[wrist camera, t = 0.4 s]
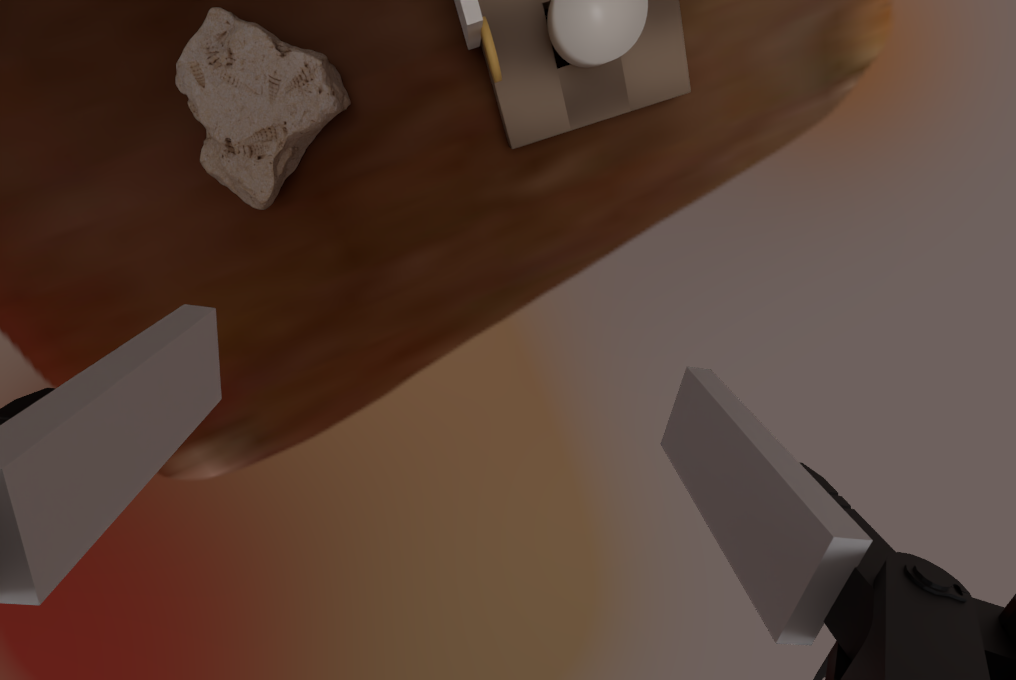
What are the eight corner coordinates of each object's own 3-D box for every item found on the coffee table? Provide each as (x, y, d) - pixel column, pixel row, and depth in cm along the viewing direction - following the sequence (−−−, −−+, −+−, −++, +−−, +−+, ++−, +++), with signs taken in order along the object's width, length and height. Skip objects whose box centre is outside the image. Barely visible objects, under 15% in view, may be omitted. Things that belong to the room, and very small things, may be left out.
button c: (531, -4, 31) (544, -30, 25) (609, -30, 30) (638, -62, 25) (551, 82, 33) (567, 75, 27) (624, 58, 32) (654, 46, 27)
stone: (369, 94, 34) (353, 90, 30) (270, 217, 37) (242, 231, 33) (254, -18, 32) (217, -41, 27) (157, 125, 34) (109, 126, 30)
